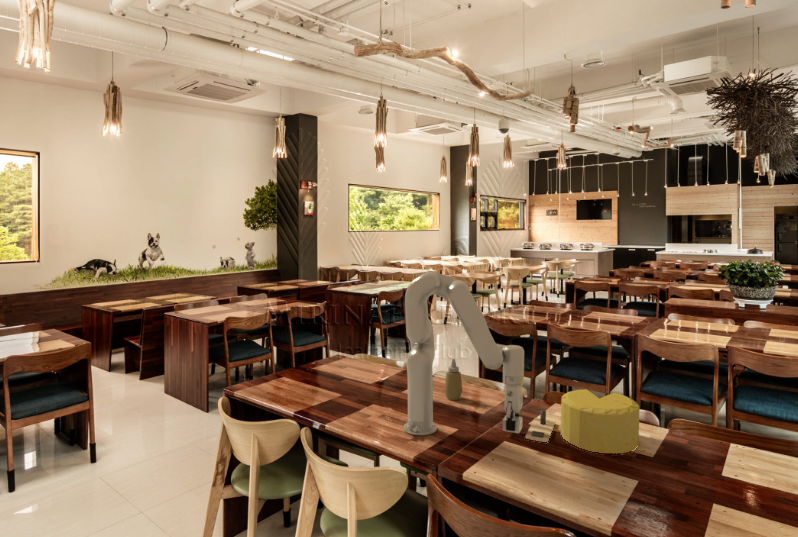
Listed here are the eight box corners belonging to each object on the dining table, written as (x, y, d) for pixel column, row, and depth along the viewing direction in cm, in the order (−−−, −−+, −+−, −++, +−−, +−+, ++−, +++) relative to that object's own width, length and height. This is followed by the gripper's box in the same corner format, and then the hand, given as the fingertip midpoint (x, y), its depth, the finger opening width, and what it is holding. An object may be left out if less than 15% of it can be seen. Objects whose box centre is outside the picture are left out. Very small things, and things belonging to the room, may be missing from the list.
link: (518, 433, 176) (519, 422, 176) (502, 430, 179) (502, 419, 178) (522, 427, 181) (522, 416, 181) (506, 424, 184) (506, 414, 184)
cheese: (599, 421, 193) (600, 384, 192) (655, 447, 169) (657, 405, 168) (545, 431, 184) (546, 392, 183) (596, 460, 160) (597, 415, 159)
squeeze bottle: (463, 401, 217) (463, 361, 215) (445, 401, 217) (445, 361, 216) (461, 395, 225) (461, 357, 224) (443, 395, 225) (444, 357, 224)
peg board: (547, 443, 172) (548, 426, 172) (524, 439, 176) (525, 422, 175) (555, 424, 190) (555, 408, 190) (534, 420, 194) (534, 405, 193)
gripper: (518, 387, 169) (517, 437, 171) (528, 374, 185) (527, 421, 186) (497, 384, 173) (496, 434, 174) (508, 372, 188) (507, 417, 189)
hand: (512, 426), depth 180 cm, fingers closed on link, 6 cm apart
